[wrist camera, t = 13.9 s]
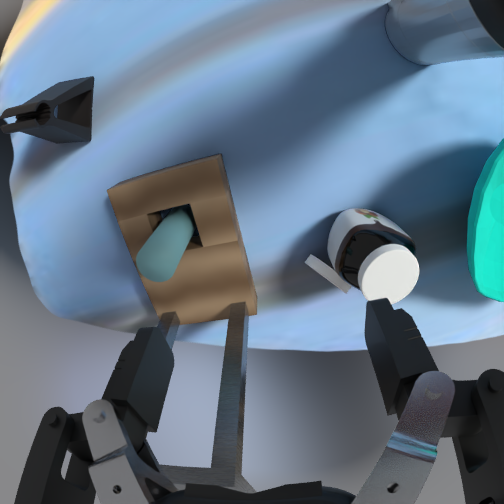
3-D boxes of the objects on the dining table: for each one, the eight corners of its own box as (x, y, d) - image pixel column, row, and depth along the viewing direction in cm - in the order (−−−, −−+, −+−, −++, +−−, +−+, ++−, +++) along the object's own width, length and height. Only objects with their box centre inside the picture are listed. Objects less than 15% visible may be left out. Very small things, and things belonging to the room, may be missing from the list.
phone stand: (91, 141, 32) (34, 158, 22) (58, 143, 32) (1, 161, 22) (94, 76, 28) (37, 72, 18) (60, 82, 28) (2, 83, 17)
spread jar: (399, 216, 37) (441, 256, 26) (370, 285, 42) (397, 336, 31) (320, 194, 36) (345, 230, 25) (295, 270, 41) (307, 326, 30)
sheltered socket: (120, 182, 35) (-55, 323, 9) (221, 153, 34) (99, 313, 7) (171, 314, 45) (115, 490, 19) (258, 302, 43) (256, 506, 17)
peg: (165, 208, 37) (130, 249, 26) (193, 201, 36) (167, 241, 26) (174, 235, 39) (144, 284, 28) (202, 229, 38) (180, 278, 27)
